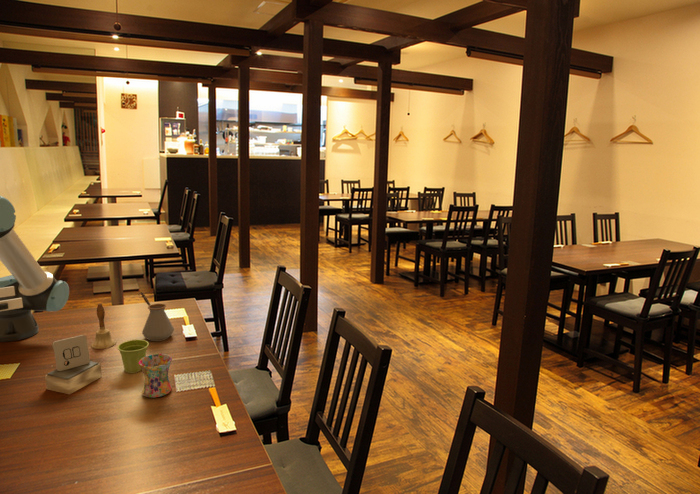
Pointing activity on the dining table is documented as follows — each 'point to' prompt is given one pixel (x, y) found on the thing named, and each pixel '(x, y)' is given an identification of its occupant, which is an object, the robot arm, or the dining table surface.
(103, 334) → the hand bell
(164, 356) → the mug
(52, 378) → the birch stand
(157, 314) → the coffee pot
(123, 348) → the plant pot
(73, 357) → the electrical switch
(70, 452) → the dining table surface
